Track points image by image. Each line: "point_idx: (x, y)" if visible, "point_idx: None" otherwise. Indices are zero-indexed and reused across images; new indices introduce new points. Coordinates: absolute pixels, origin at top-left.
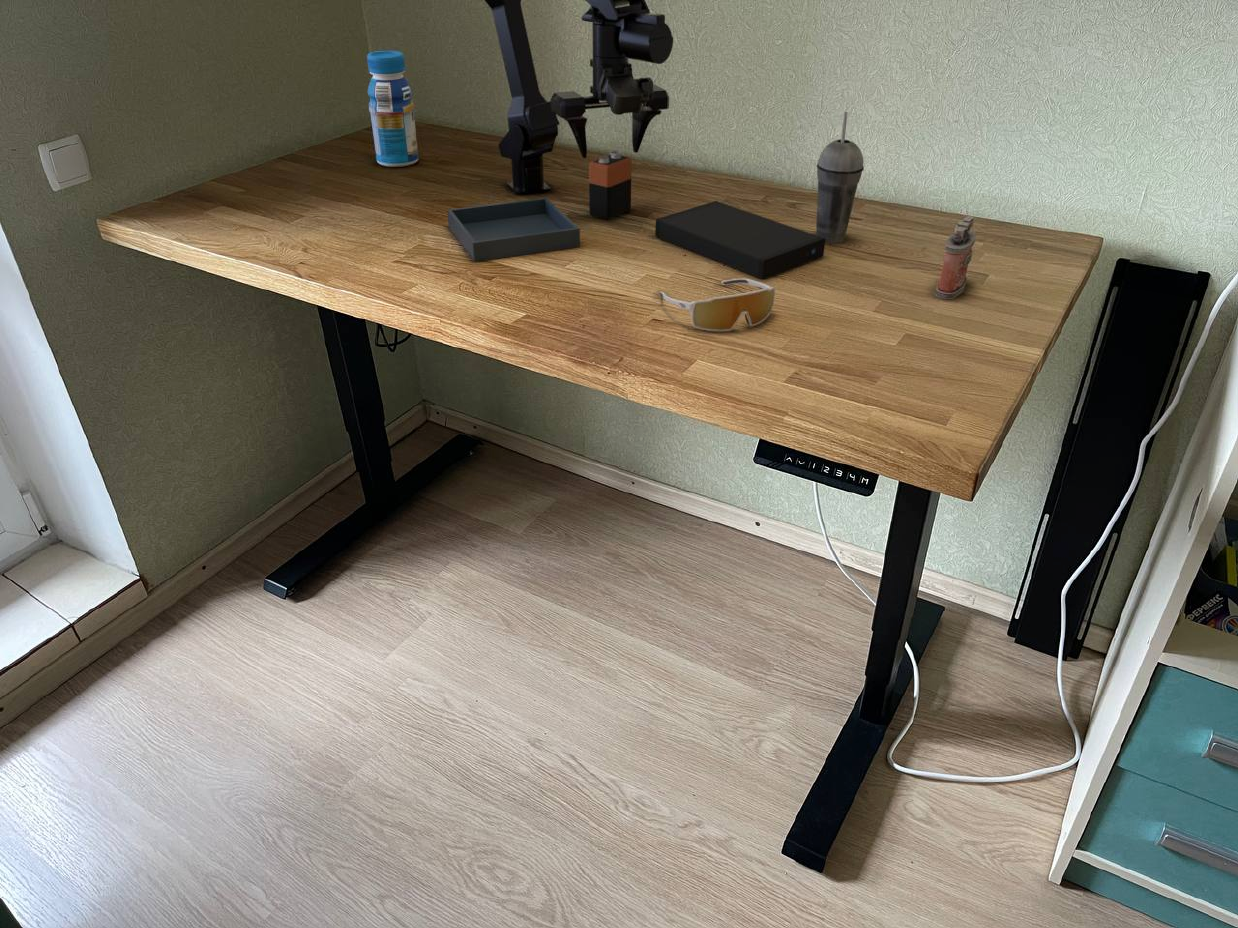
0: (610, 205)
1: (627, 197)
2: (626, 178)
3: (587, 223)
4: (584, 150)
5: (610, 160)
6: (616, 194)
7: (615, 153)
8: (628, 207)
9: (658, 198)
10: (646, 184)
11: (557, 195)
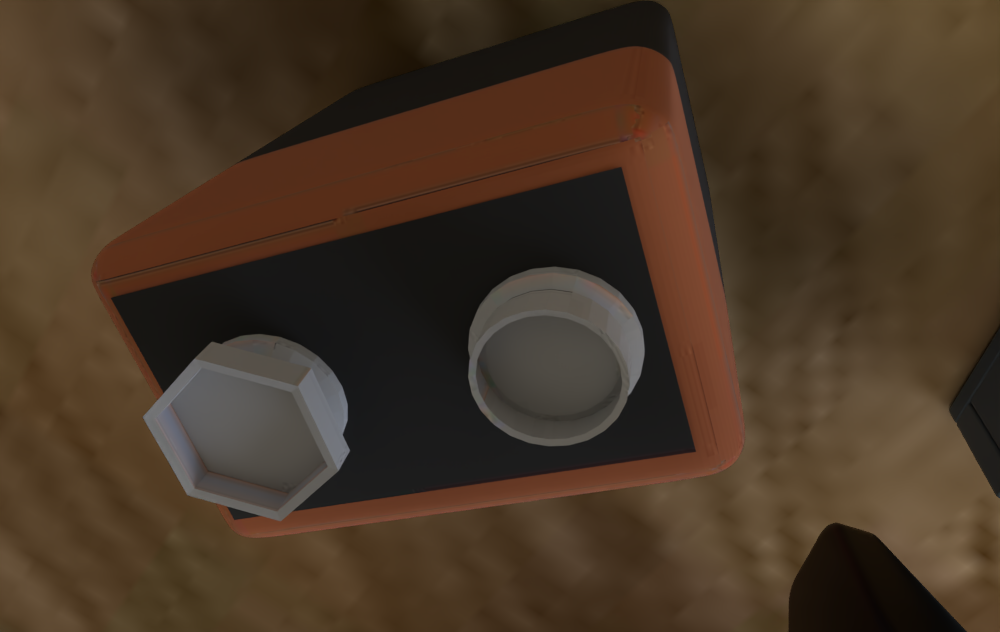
0: (630, 17)
1: (360, 98)
2: (304, 144)
3: (849, 61)
4: (929, 624)
5: (427, 342)
6: (518, 62)
7: (243, 461)
8: (375, 85)
9: (39, 195)
10: (13, 443)
11: (601, 622)
